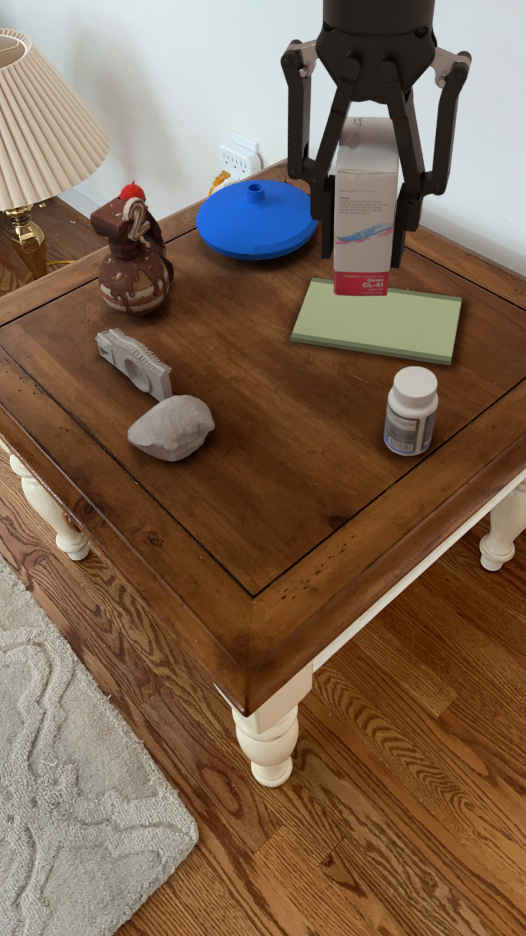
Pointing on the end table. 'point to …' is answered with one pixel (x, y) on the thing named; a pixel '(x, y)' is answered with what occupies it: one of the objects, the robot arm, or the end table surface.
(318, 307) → the mat
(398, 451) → the pill bottle
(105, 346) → the garden wall model
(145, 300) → the grenade
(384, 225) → the ink box
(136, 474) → the end table surface
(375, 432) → the end table surface
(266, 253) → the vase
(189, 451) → the grey stone
